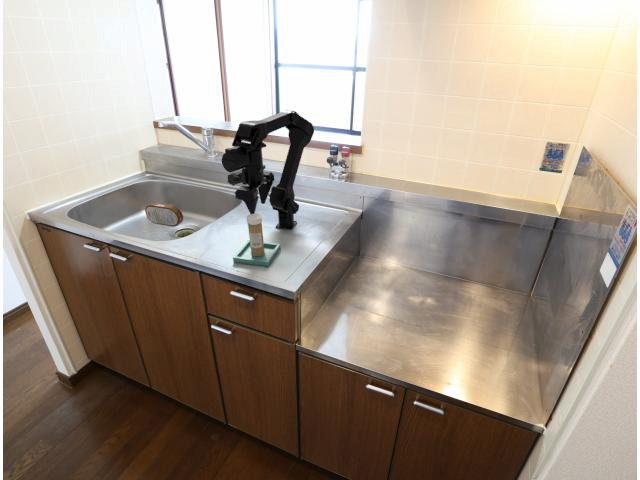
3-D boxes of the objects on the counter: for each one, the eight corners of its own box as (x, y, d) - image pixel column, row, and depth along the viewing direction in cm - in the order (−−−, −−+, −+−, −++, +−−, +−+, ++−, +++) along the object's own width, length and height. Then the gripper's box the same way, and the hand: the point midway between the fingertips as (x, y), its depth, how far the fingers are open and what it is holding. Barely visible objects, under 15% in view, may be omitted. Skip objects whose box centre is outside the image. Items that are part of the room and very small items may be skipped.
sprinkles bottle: (267, 250, 122) (263, 213, 116) (261, 258, 118) (258, 220, 112) (254, 249, 123) (250, 212, 117) (248, 256, 119) (244, 218, 113)
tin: (185, 225, 141) (181, 204, 137) (180, 228, 138) (176, 208, 134) (152, 220, 145) (147, 200, 141) (146, 223, 142) (141, 203, 138)
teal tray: (248, 245, 127) (248, 240, 126) (280, 249, 125) (280, 244, 124) (233, 262, 117) (232, 257, 116) (268, 267, 115) (267, 262, 114)
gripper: (242, 153, 126) (247, 196, 134) (216, 171, 111) (223, 218, 118) (273, 155, 124) (276, 199, 132) (250, 174, 108) (255, 222, 116)
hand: (257, 208), depth 124 cm, fingers open, 9 cm apart
